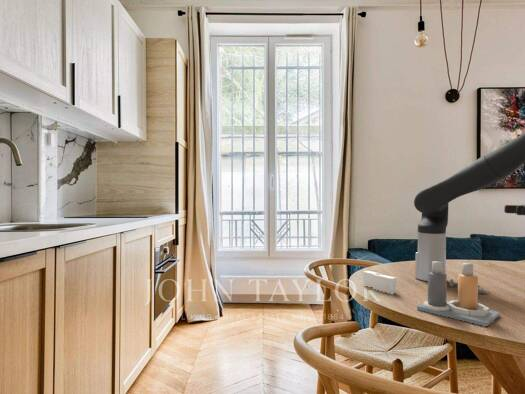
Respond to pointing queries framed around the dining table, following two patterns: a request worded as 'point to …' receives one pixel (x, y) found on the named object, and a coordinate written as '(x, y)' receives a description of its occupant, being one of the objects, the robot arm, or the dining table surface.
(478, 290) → the clamp
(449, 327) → the dining table surface
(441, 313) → the bottle holder tray
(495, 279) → the dining table surface
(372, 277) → the white stepped block
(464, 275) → the orange lotion bottle
